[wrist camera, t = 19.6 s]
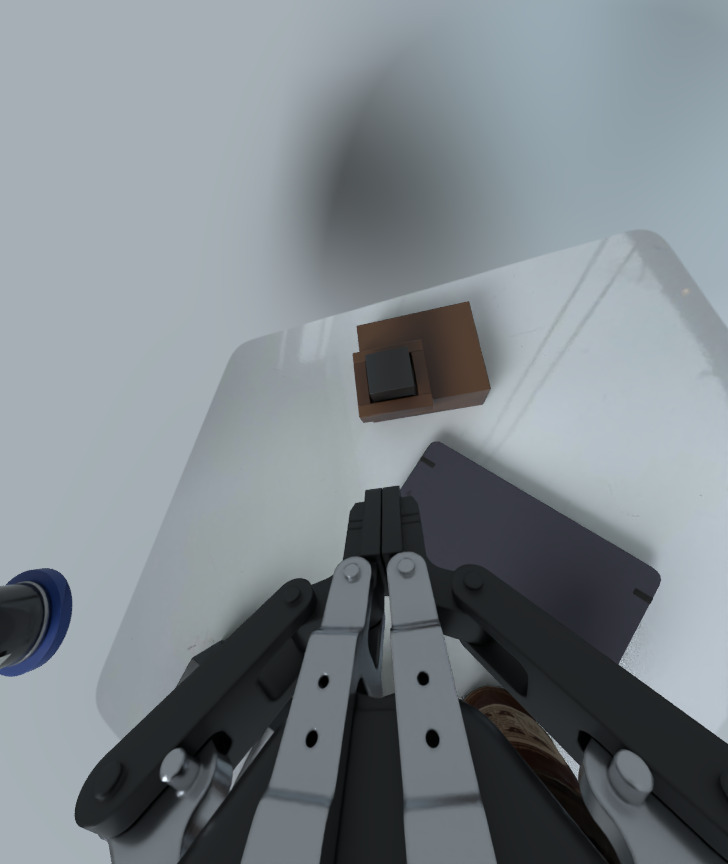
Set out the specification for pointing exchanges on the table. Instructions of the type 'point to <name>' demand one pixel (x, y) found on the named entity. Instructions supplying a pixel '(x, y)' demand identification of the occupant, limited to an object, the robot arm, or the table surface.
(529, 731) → the coffee cup
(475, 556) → the notebook
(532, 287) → the table surface
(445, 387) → the key block
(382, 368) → the ebony key
